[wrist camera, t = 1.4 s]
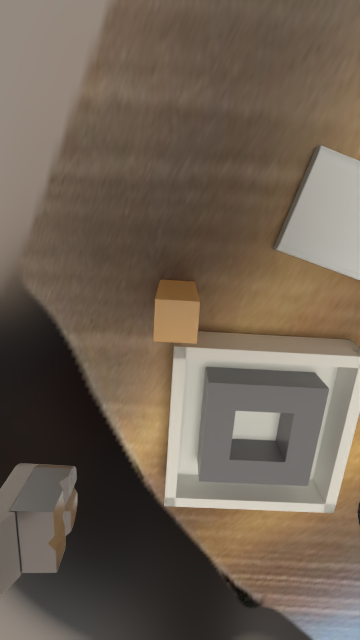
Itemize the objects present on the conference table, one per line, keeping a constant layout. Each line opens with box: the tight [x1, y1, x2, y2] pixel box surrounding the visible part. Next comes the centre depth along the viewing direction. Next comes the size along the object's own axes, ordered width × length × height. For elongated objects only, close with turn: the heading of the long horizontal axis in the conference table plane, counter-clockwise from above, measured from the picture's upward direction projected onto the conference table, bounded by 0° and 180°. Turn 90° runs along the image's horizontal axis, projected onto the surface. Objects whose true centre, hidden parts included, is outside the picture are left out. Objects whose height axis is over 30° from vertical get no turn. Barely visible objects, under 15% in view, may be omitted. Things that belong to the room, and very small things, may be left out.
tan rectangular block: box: [153, 279, 200, 344], centre depth 26 cm, size 3×3×7 cm
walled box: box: [164, 331, 360, 513], centre depth 31 cm, size 16×16×4 cm
